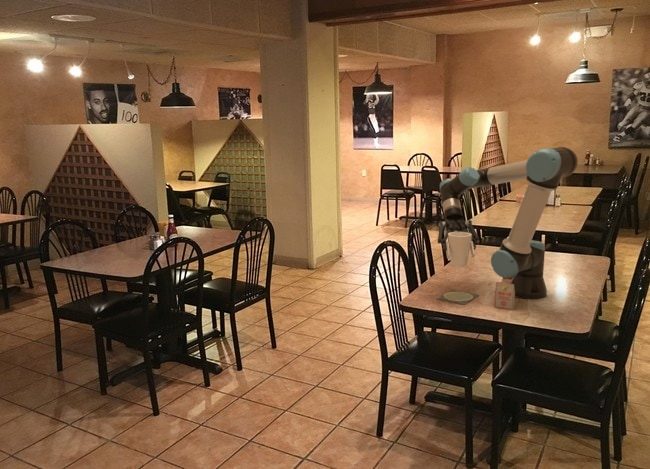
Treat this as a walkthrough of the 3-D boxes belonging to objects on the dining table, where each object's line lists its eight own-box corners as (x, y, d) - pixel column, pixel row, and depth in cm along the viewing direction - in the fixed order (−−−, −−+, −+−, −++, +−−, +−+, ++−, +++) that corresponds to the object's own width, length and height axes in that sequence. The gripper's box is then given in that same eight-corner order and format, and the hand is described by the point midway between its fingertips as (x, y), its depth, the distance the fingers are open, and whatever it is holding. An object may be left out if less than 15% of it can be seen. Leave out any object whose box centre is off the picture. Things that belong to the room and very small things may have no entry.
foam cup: (445, 266, 233) (446, 235, 230) (449, 261, 241) (450, 231, 239) (469, 268, 230) (469, 237, 227) (472, 262, 238) (473, 232, 235)
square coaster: (478, 296, 240) (479, 294, 240) (463, 304, 229) (463, 303, 229) (453, 291, 247) (453, 289, 247) (437, 299, 237) (437, 297, 237)
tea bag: (497, 304, 229) (498, 280, 227) (514, 307, 225) (515, 283, 223) (494, 307, 226) (495, 283, 224) (511, 310, 222) (512, 285, 220)
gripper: (476, 215, 247) (486, 260, 235) (425, 217, 247) (432, 261, 234) (480, 205, 241) (490, 250, 229) (428, 207, 240) (435, 252, 228)
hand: (461, 256), depth 232 cm, fingers closed on foam cup, 9 cm apart
